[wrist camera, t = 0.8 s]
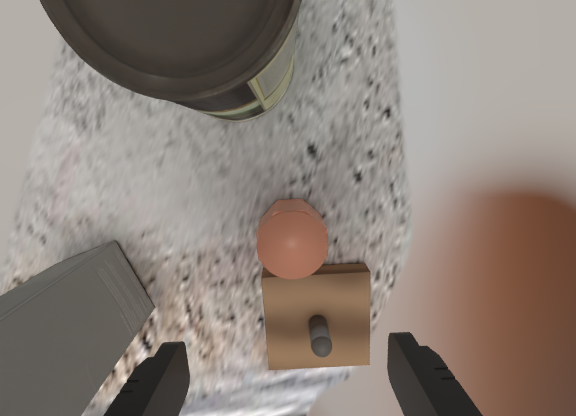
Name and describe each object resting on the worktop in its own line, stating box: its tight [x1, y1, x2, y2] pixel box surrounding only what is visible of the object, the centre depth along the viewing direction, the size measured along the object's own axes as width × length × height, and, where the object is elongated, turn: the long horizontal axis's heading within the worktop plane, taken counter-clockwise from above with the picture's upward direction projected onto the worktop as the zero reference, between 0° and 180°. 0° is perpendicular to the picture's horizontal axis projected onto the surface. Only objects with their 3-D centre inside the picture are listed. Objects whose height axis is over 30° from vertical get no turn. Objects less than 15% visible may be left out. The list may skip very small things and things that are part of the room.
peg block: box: [262, 263, 370, 370], centre depth 26 cm, size 10×10×6 cm
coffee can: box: [40, 0, 302, 122], centre depth 17 cm, size 10×10×14 cm
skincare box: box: [0, 241, 154, 416], centre depth 21 cm, size 8×7×16 cm
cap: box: [256, 199, 328, 279], centre depth 25 cm, size 6×6×5 cm
